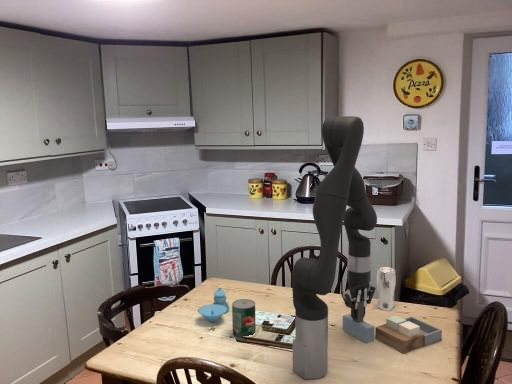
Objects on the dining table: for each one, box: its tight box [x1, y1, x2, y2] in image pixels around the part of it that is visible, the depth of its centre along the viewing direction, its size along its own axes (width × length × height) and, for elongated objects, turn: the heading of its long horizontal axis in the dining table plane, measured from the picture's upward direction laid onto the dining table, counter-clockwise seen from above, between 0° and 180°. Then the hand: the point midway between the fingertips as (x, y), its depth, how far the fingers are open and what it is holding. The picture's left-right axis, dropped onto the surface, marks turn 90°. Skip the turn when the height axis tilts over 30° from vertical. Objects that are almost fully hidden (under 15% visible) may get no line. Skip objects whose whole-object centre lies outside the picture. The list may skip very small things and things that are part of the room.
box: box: [404, 316, 443, 347], centre depth 157 cm, size 8×13×4 cm, turn 30°
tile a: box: [399, 321, 420, 337], centre depth 150 cm, size 4×4×2 cm
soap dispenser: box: [197, 287, 230, 324], centre depth 174 cm, size 18×10×9 cm, turn 167°
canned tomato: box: [231, 298, 257, 340], centre depth 159 cm, size 8×8×11 cm
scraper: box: [342, 300, 375, 344], centre depth 157 cm, size 3×12×12 cm, turn 30°
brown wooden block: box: [374, 323, 424, 354], centre depth 152 cm, size 9×12×4 cm
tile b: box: [385, 315, 407, 331], centre depth 155 cm, size 4×4×2 cm
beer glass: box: [376, 266, 397, 311], centre depth 180 cm, size 7×7×15 cm
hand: (358, 317), depth 157 cm, fingers closed on scraper, 2 cm apart
